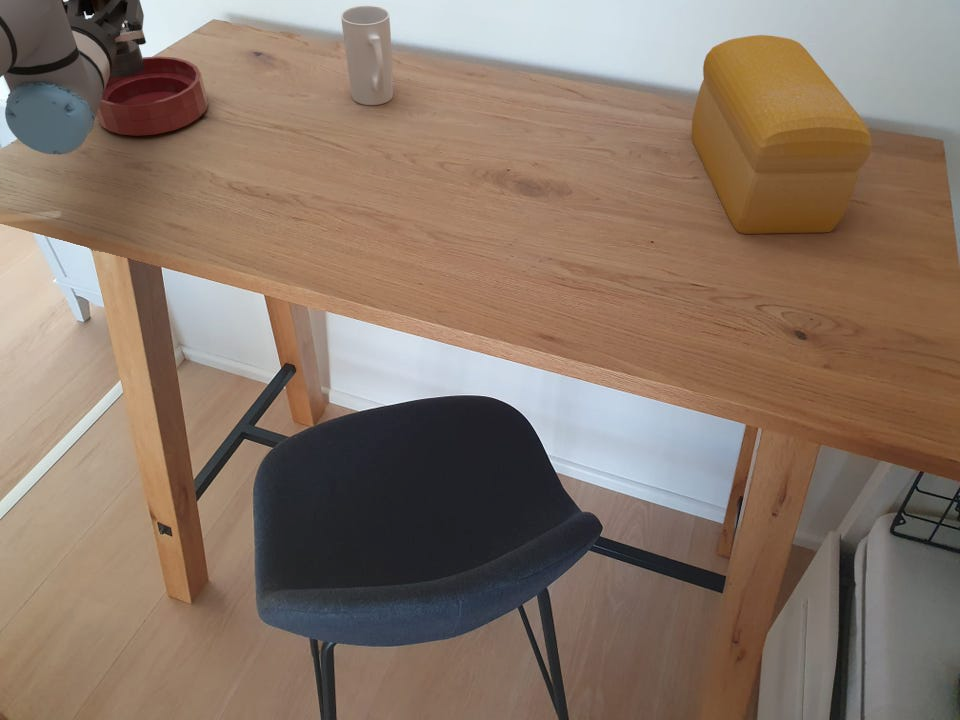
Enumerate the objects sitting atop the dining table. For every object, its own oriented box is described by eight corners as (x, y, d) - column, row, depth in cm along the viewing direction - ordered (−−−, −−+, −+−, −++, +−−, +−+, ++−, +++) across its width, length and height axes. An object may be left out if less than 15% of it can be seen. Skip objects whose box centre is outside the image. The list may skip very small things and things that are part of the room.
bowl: (90, 143, 105) (76, 109, 101) (108, 92, 116) (97, 59, 112) (204, 135, 107) (195, 101, 103) (212, 85, 117) (204, 53, 114)
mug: (345, 89, 117) (335, 9, 108) (387, 82, 119) (381, 2, 110) (362, 120, 110) (354, 36, 102) (407, 112, 112) (402, 29, 104)
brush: (99, 78, 104) (54, -49, 92) (105, 60, 108) (64, -64, 96) (142, 76, 104) (103, -51, 93) (147, 58, 108) (110, -66, 97)
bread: (839, 233, 92) (888, 117, 82) (734, 235, 92) (769, 119, 81) (775, 131, 109) (808, 25, 99) (686, 133, 109) (709, 26, 98)
